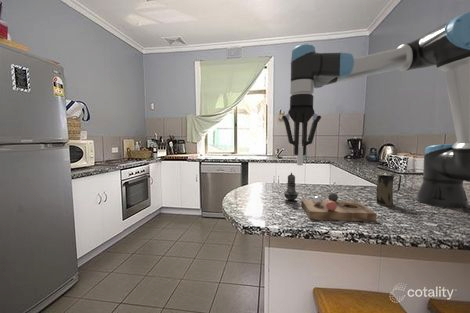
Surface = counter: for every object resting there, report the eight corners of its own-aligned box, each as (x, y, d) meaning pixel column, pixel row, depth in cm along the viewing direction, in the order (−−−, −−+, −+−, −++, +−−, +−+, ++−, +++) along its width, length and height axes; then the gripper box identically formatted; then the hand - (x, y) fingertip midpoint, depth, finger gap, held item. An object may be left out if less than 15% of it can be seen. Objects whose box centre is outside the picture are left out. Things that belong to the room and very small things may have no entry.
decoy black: (335, 200, 84) (336, 192, 84) (339, 202, 81) (339, 194, 81) (327, 200, 84) (327, 191, 84) (329, 202, 81) (330, 193, 81)
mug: (379, 205, 86) (381, 174, 85) (373, 201, 91) (374, 172, 90) (402, 206, 84) (404, 175, 83) (395, 202, 90) (396, 173, 89)
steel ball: (320, 204, 79) (320, 195, 79) (323, 206, 76) (323, 197, 76) (311, 203, 80) (311, 195, 79) (313, 206, 76) (313, 197, 76)
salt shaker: (299, 204, 88) (299, 173, 87) (283, 203, 89) (284, 173, 88) (297, 200, 94) (298, 171, 93) (283, 199, 95) (283, 171, 94)
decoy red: (334, 209, 73) (335, 199, 73) (338, 212, 70) (338, 202, 70) (324, 208, 74) (324, 199, 74) (327, 212, 71) (327, 202, 70)
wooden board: (356, 207, 83) (356, 201, 83) (376, 221, 69) (376, 213, 69) (301, 206, 85) (301, 199, 85) (309, 219, 71) (309, 211, 71)
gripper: (318, 96, 79) (316, 164, 80) (280, 97, 80) (279, 163, 82) (325, 92, 71) (322, 166, 73) (283, 93, 73) (281, 165, 74)
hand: (299, 164), depth 77 cm, fingers closed
